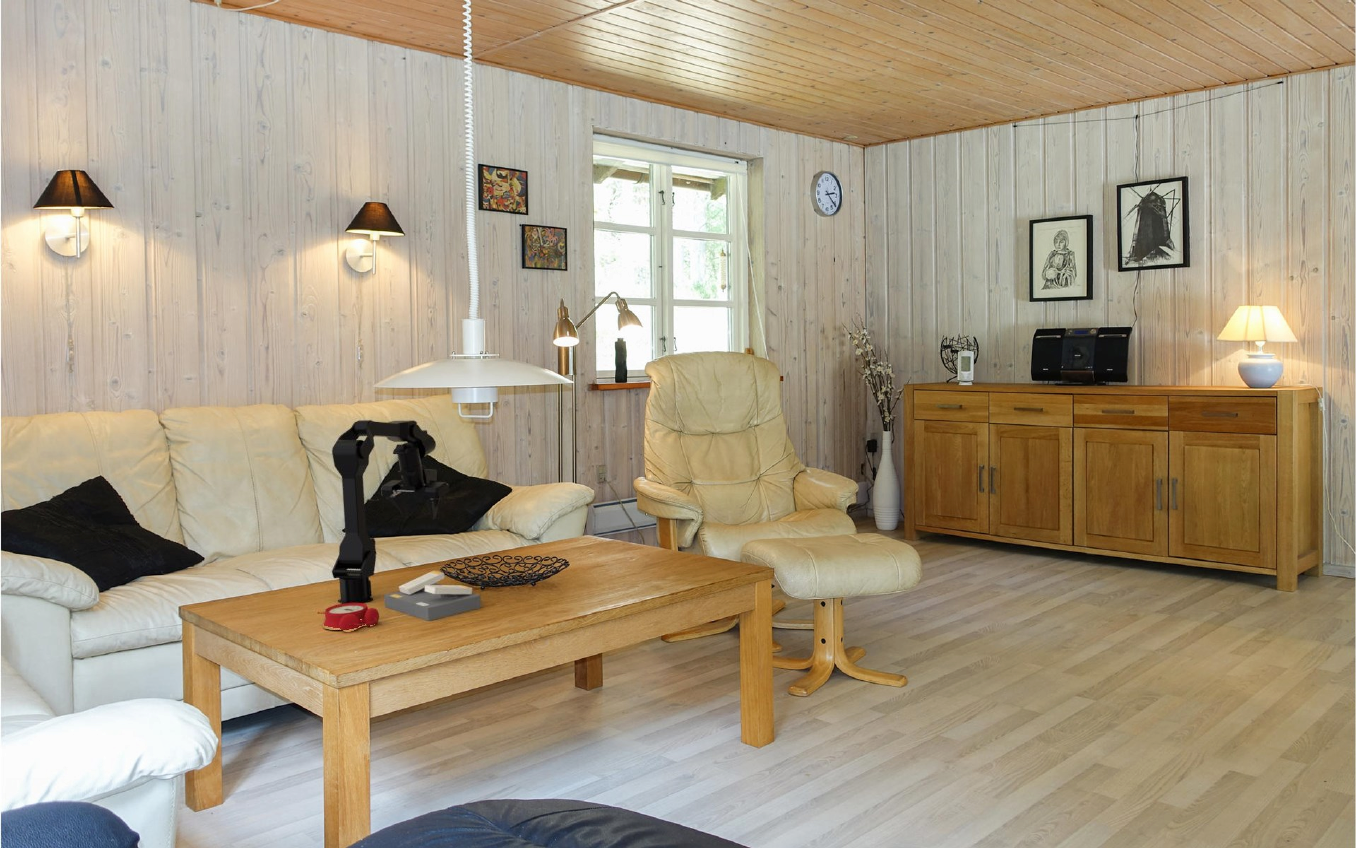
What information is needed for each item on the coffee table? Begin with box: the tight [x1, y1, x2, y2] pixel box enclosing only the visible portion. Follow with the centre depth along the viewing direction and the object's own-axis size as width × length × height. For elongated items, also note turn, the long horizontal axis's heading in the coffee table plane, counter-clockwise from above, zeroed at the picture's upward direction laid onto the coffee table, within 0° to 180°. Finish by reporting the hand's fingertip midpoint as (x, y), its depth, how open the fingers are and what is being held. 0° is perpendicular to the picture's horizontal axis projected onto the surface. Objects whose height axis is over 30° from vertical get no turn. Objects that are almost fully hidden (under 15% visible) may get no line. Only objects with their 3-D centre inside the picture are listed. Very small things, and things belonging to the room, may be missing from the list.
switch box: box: [383, 582, 482, 622], centre depth 242 cm, size 14×20×4 cm
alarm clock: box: [317, 602, 380, 630], centre depth 229 cm, size 10×6×15 cm
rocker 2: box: [425, 584, 473, 594], centre depth 238 cm, size 10×4×2 cm, turn 134°
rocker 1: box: [398, 570, 446, 595], centre depth 247 cm, size 10×4×2 cm, turn 134°
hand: (420, 518), depth 281 cm, fingers open, 9 cm apart
